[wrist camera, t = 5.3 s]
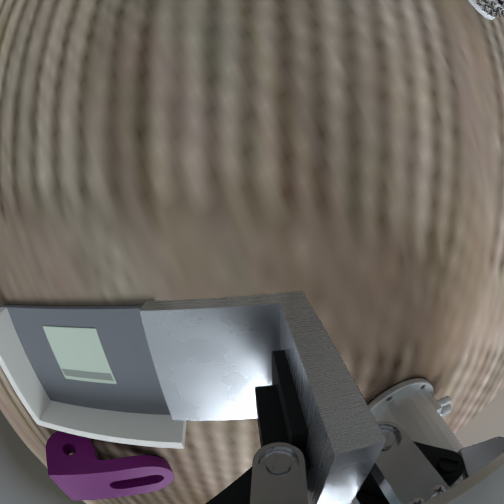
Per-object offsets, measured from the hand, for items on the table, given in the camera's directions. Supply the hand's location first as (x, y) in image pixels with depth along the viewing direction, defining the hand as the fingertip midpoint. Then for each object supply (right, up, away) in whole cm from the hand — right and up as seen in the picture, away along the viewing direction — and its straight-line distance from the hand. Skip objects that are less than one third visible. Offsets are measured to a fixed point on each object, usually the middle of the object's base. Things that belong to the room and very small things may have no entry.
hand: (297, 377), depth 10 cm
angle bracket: (-3, 0, +1) cm, 3 cm away
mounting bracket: (-22, -26, +20) cm, 40 cm away
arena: (-19, -8, +14) cm, 25 cm away
